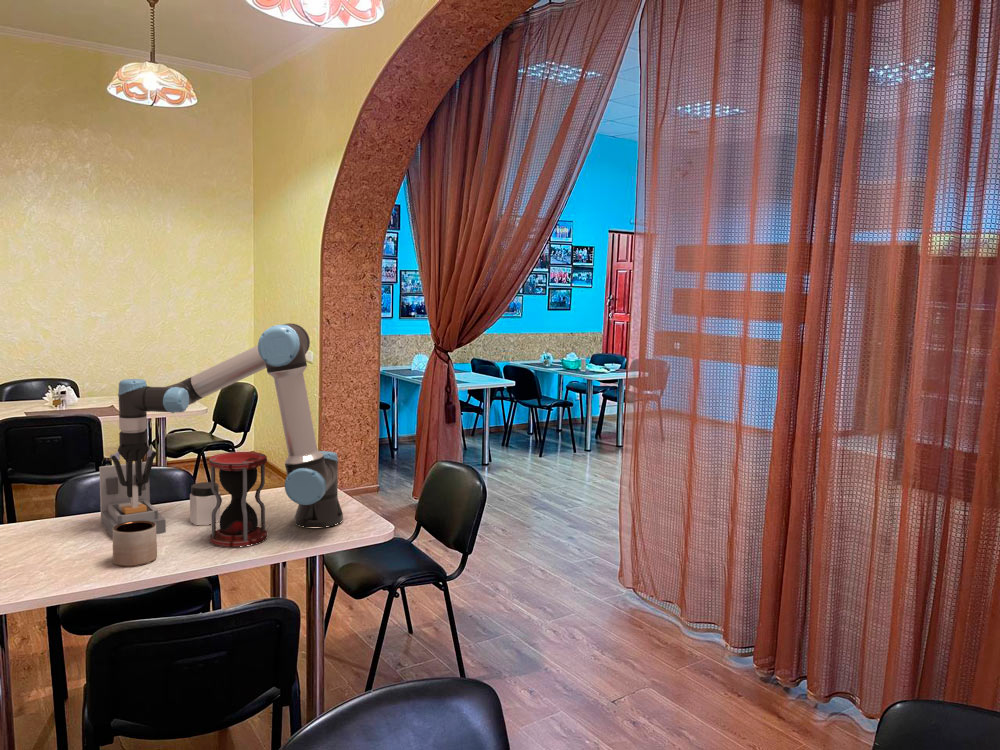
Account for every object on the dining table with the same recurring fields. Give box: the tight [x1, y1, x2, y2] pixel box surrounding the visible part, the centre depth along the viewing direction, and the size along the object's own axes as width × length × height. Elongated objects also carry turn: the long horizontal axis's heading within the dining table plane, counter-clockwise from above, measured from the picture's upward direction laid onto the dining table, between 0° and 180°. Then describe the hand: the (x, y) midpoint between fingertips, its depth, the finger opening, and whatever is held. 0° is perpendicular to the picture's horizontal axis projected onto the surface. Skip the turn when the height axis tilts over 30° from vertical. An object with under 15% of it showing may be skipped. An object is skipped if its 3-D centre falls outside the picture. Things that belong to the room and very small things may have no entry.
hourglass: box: [208, 451, 268, 548], centre depth 225 cm, size 16×16×25 cm
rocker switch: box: [118, 502, 147, 514], centre depth 234 cm, size 10×6×2 cm, turn 38°
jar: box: [189, 481, 221, 526], centre depth 241 cm, size 9×8×12 cm
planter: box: [112, 521, 158, 567], centre depth 207 cm, size 11×11×10 cm
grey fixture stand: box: [98, 461, 167, 538], centre depth 234 cm, size 20×14×18 cm
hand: (134, 507), depth 231 cm, fingers closed
